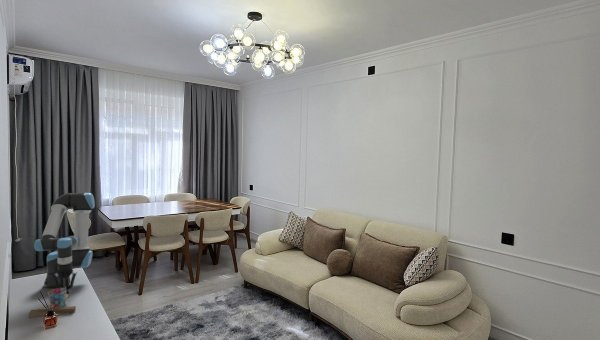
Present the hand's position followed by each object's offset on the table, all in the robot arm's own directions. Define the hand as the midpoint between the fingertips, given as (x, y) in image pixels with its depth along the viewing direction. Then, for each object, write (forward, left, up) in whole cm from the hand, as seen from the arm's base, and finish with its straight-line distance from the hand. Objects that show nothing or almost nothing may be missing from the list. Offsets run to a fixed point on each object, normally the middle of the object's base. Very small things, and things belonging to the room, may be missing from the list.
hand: (65, 299), depth 208 cm
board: (+18, 0, -1) cm, 18 cm away
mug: (+9, 0, -1) cm, 9 cm away
